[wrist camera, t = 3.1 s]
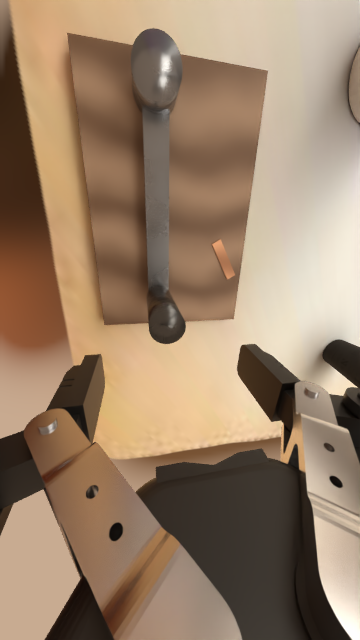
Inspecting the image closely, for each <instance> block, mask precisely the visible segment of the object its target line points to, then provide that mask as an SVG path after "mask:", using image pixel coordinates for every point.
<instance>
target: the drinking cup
mask: <svg viewBox="0 0 360 640" xmlns="http://www.w3.org/2000/svg"><path fill="white" fill-rule="evenodd" d="M323 359H324V360H325V361H326V362H327V363H329V364H330V365H331V366H332V367H333V368H335V369H336V370H337V371H338V372H340V373H341V374H342V375H343V376H345V377H346V378H347V379H348V380H349V381H351V382H352V383H353V384H354V385H356V386H357V387H358V388H360V347H358V346H355V345H353V344H351V343H348V342H346V341H343V340H335V341H333V342H331V343H330V344H329V345H328V346H327V347H326V348H325V350H324V352H323Z"/></svg>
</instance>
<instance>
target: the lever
mask: <svg viewBox="0 0 360 640" xmlns="http://www.w3.org/2000/svg"><path fill="white" fill-rule="evenodd" d="M182 74H183V66H182V60H181V55H180V52H179V50H178V48H177V46H176V44H175V42H174V41H173V40H172V38H171V37H170V36H169V35H168V34H167V33H165V32H164V31H162V30H159V29H154V28H152V29H147V30H145V31H143V32H142V33H141V34H140V35H139V36H138V37H137V38H136V40H135V42H134V44H133V47H132V51H131V75H132V91H133V97H134V100H135V103H136V105H137V107H138V109H139V110H140V111H141V113H142V122H143V152H144V181H145V210H146V239H147V268H148V292H147V295H146V300H147V311H148V322H149V331H150V334H151V336H152V338H153V339H154V340H156V341H157V342H159V343H163V344H170V343H173V342H176V341H177V340H179V339H180V338H181V337H182V336H183V334H184V332H185V328H186V324H185V320H184V318H183V317H182V315H181V313H180V311H179V309H178V307H177V305H176V303H175V301H174V299H173V297H172V295H171V293H170V292H169V115H170V114H171V113H172V111H173V109H174V107H175V103H176V100H177V96H178V92H179V88H180V84H181V81H182Z"/></svg>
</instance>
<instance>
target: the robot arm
mask: <svg viewBox="0 0 360 640" xmlns="http://www.w3.org/2000/svg"><path fill="white" fill-rule="evenodd" d="M349 101H350V106H351V110H352V112H353V115H354V117H355V118H356V120H357V121H358V122H359V123H360V47H359V49H358V51H357V54H356V57H355V59H354V62H353V65H352V69H351V74H350V80H349ZM237 371H238V375H239V377H240V378H241V380H242V381H243V383H244V384H245V385H246V387H247V388H248V390H249V391H250V392H251V394H252V395H253V397H254V398H255V399H256V401H257V402H258V404H259V405H260V406H261V408H262V409H263V411H264V412H265V413H266V415H267V416H268V417H269V419H270V420H271V422H274V421H280V420H281V421H282V422H283V425H282V432H281V461H278V460H275V459H271V458H267V456H266V455H265V453H264V452H263V450H262V449H257V450H250V451H245V452H239V453H236V454H234V455H233V456H231V457H229V458H227V459H225V460H223V461H221V462H219V463H217V464H215V465H208V464H197V463H187V462H182V463H176V464H171V465H166V466H159V467H156V478H154V479H152V480H150V481H149V482H147V483H146V484H144V485H143V486H142V487H141V488H139V489H138V490H137V491H136V492H135V491H134V490H133V489H132V487H131V486H130V485H129V484H128V482H127V481H126V479H125V478H124V477H123V475H122V474H121V473H120V472H119V470H118V469H117V468H116V466H115V465H114V464H113V462H112V461H111V460H110V458H109V457H108V456H107V454H106V453H105V452H104V451H103V449H102V448H101V447H100V445H99V444H98V443H96V442H94V443H93V438H94V434H95V429H96V425H97V420H98V416H99V411H100V407H101V402H102V398H103V393H104V388H105V378H104V370H103V363H102V356H101V354H97V355H85V357H84V359H83V361H82V363H81V365H77V366H73V367H72V368H71V369H70V370H69V371H67V372H66V374H65V376H64V378H63V381H62V382H61V384H60V385H59V388H58V389H57V391H56V393H55V395H54V397H53V399H52V401H51V402H50V405H49V406H48V408H47V410H46V411H45V412H43V413H41V414H39V415H37V416H36V417H34V418H33V419H32V420H31V421H30V422H29V423H28V424H27V426H26V428H25V430H23V431H21V432H18V433H16V434H13V435H10V436H7V437H4V438H2V439H0V535H1V532H2V530H3V527H4V525H5V523H6V520H7V518H8V515H9V513H10V511H11V508H12V505H13V503H15V502H18V501H19V500H22V499H23V498H26V497H28V496H30V495H32V494H34V493H36V492H38V491H40V490H42V489H44V491H45V494H46V496H47V499H48V501H49V503H50V506H51V508H52V511H53V513H54V515H55V518H56V520H57V523H58V525H59V527H60V530H61V532H62V535H63V537H64V540H65V542H66V545H67V547H68V550H69V552H70V555H71V557H72V559H73V562H74V564H75V567H76V569H77V572H78V574H79V576H80V581H79V583H78V585H77V586H76V588H75V589H74V591H73V593H72V594H71V596H70V598H69V600H68V601H67V603H66V605H65V606H64V608H63V610H62V611H61V613H60V615H59V616H58V618H57V620H56V622H55V623H54V625H53V626H52V628H51V630H50V632H49V633H48V635H47V637H46V638H45V640H360V388H354V387H351V388H347V389H346V391H345V394H344V396H339V395H331V394H328V392H327V391H326V390H325V389H323V388H322V387H320V386H318V385H316V384H314V383H311V382H306V381H300V380H299V379H298V378H297V377H295V376H294V375H293V374H292V373H291V372H290V371H289V370H288V369H287V368H285V367H283V365H282V364H281V363H280V362H278V360H276V359H275V358H274V357H273V356H272V355H270V354H268V353H266V352H263V351H262V350H261V349H260V348H259V347H258V346H257V345H256V344H248V345H242V346H241V348H240V354H239V360H238V366H237ZM92 443H93V444H92Z"/></svg>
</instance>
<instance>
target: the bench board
mask: <svg viewBox="0 0 360 640" xmlns="http://www.w3.org/2000/svg"><path fill="white" fill-rule="evenodd" d="M67 35H68V43H69V51H70V59H71V67H72V74H73V82H74V90H75V98H76V106H77V114H78V121H79V129H80V137H81V145H82V153H83V161H84V168H85V176H86V184H87V192H88V200H89V208H90V215H91V223H92V231H93V239H94V247H95V255H96V263H97V270H98V278H99V286H100V294H101V302H102V310H103V317H104V325H114V324H136V323H149V322H148V311H147V300H146V295H147V292H148V268H147V239H146V210H145V181H144V152H143V122H142V113H141V111H140V110H139V109H138V107H137V105H136V103H135V100H134V97H133V91H132V75H131V51H132V47H133V45H129V44H123V43H118V42H113V41H108V40H102V39H97V38H92V37H86V36H81V35H76V34H71V33H67ZM180 55H181V54H180ZM181 60H182V66H183V74H182V81H181V84H180V88H179V92H178V96H177V100H176V103H175V107H174V109H173V111H172V113H171V114H170V115H169V292H170V293H171V295H172V297H173V299H174V301H175V303H176V305H177V307H178V309H179V311H180V313H181V315H182V317H183V318H184V320H185V321H201V320H223V319H234V312H235V305H236V298H237V291H238V283H239V276H240V269H241V262H242V254H243V247H244V240H245V233H246V225H247V218H248V211H249V204H250V196H251V189H252V182H253V175H254V167H255V160H256V153H257V146H258V138H259V131H260V124H261V117H262V109H263V102H264V95H265V88H266V80H267V73H268V71H266V70H261V69H255V68H250V67H245V66H239V65H234V64H229V63H224V62H218V61H213V60H208V59H202V58H197V57H192V56H187V55H181Z"/></svg>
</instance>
